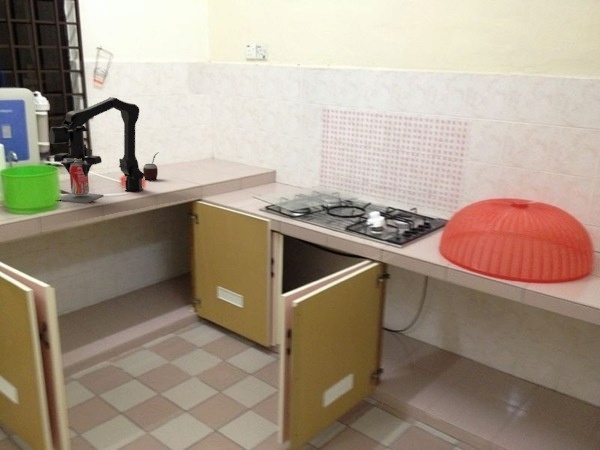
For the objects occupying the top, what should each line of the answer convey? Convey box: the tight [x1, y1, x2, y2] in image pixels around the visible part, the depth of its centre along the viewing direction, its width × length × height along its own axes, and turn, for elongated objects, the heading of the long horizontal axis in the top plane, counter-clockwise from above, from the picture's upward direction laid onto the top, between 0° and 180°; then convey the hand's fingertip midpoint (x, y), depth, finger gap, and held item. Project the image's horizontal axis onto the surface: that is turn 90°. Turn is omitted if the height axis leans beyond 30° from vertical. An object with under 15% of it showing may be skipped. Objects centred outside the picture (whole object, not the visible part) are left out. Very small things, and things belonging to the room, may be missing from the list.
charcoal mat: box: [60, 192, 104, 204], centre depth 236 cm, size 14×14×1 cm
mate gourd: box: [142, 152, 160, 182], centre depth 275 cm, size 8×8×15 cm
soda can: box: [69, 162, 90, 195], centre depth 234 cm, size 7×7×13 cm
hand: (79, 178), depth 234 cm, fingers closed on soda can, 5 cm apart
